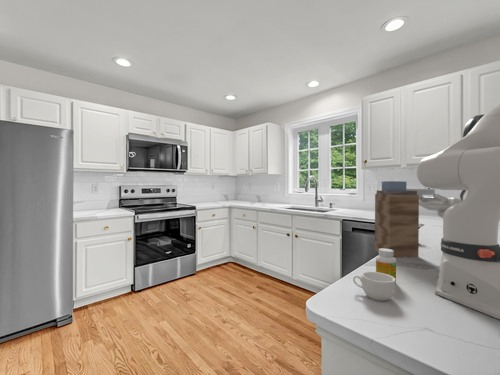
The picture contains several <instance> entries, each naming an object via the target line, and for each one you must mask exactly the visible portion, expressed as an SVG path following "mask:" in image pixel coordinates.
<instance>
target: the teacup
mask: <svg viewBox="0 0 500 375" xmlns="http://www.w3.org/2000/svg"><path fill="white" fill-rule="evenodd" d="M356 278H357V279H359V281H360V283H361V284H359V283H357V282H356ZM352 280H353V283H354V284H355V286H357V287H358V288H361V289H362V290H363V292H364V294H365V295H366V297H369V299H371V300H374V301H378V302H385V301H388V300H390V299H391V298H392V297H394V293H395V287H396V284H395V278H394V277H392V276H390V275H387V274H384V273H379V272H376V271H363V272H362V273H361V276H360V275H354V276H353V279H352Z"/></svg>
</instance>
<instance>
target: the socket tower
mask: <svg viewBox="0 0 500 375" xmlns="http://www.w3.org/2000/svg"><path fill="white" fill-rule="evenodd" d="M374 197H375V198H374V253H375V252H376V253H377V254H379V249H381V248H384V249H391V250H393V251H394V256H393V257H394V258H418V257H419V242H420V241H419V235H420V233H419V232H420V231H419V229H420V228H419V227H420V226H419V222H420V221H419V218H420V216H419V215H420V205H419V195H417V191H382V190H376V193H375V194H374Z"/></svg>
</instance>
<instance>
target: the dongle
mask: <svg viewBox="0 0 500 375" xmlns="http://www.w3.org/2000/svg"><path fill="white" fill-rule="evenodd" d="M381 191H417V195H422V196H425V195H428V196H434V194H436V189H434V188H418V189H417V188H407V181H403V180H402V181H396V180H395V181H394V180H393V181H392V180H391V181H381Z"/></svg>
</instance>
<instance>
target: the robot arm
mask: <svg viewBox="0 0 500 375" xmlns="http://www.w3.org/2000/svg"><path fill="white" fill-rule="evenodd" d="M416 176H417V180H418V181H419V183H420V184H421V185H422V186H423V187H425V188H428V189H435V190H440V191H441V190H442V191H461V192H460V194H459V198H460V199H459V198H456V197H446V196H443V195H441V194H439V193H435V194H434V195H432V196H423V195H419V207H422V208H423V209H426V210H428V211H432V212H435V211H436V212H437V215H438V216H439V217H440V218H442V220H443V222H442V238H441V239H440V251H441V252H442V255H441V260H440V261H441V262H440V268H439V271H438V272H439V273H438V279H437V281H436V284H435V292H434V293H435V294H436V295H438V296H440V297H443V298H445V299H448V300H450V301H453V302H456V303H458V304H460V305H463V306H465V307H468V308H470V309H472V310H473V309H474V310H475V311H478V312H481V313H483V314H485V315H487V316H491V317H493V318H496V319H498V320H500V244H499V243H498V239H499V238H498V233H499V225H500V224H499V221H500V104H497V105H496V106H495V107H493V108H491V109H490V110H489V111H487V112H486V113H485V114H478V115H474V116H473V117H471V118H469V120H468V121H467V122H466V123H465V125H464V127H463V130H462V138H461V139H459V140H458V141H456V142H454V143H453V144H451V145H449V146H448V147H446V148H444V149H442V150H441V151H439V152H436V153H434V154H433V153H432V154H431V155H428V156H424V158H421V160H420V161H419V163H418V165H417V166H416Z"/></svg>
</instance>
